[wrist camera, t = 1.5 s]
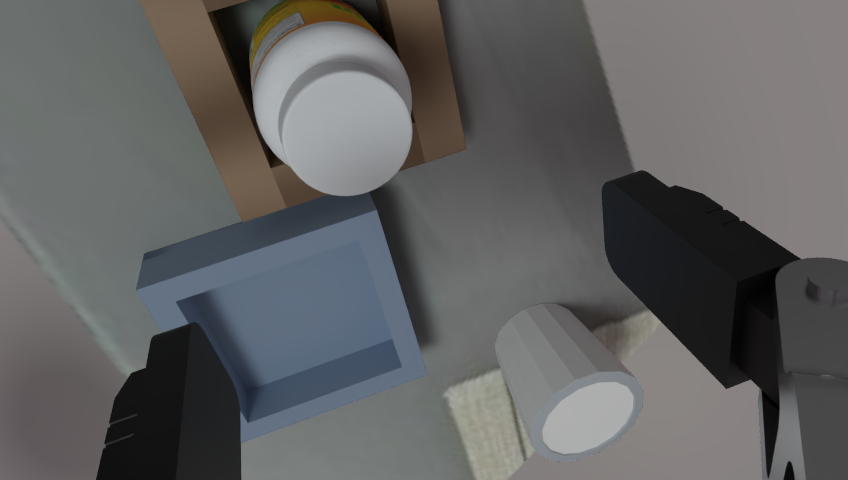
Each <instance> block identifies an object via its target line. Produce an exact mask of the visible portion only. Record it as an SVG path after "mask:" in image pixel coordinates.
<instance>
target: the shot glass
mask: <svg viewBox="0 0 848 480" xmlns="http://www.w3.org/2000/svg"><path fill="white" fill-rule="evenodd" d="M495 351H496V358H497V360H498V363H499V365H500V368H501V370H502V373H503V375H504V378H505V380H506V383H507V385H508V388H509V390H510V393H511V395H512V398H513V400H514V403H515V405H516V408H517V410H518V413H519V415H520V418H521V420H522V423H523V425H524V428H525V430H526V433H527V435H528V438H529V440H530V443H531V445H532V447H533V448H534V449H535V450H536V451H537V452H538V453H539V454H540V456H541V457H544V458H547V459H551V460H554V461H557V462H562V461H574V460H580V459H583V458H585V457H588V456H591V455H594V454H597V453H599V452H601V451H602V450H604V449H606V448H607V447H609V446H610V445H612V444H613V443H615V442H616V441H618V440H619V439H620V438H621V437H622V436H623V435H624V434H625V433H626V432H627V431H628V430H629V429H630V428H631V427H632V426H633V425H634V423H635V421H636V419H637V417H638V415H639V414H640V412H641V410H642V408H643V395H644V390H643V389H642V387H641V385H640V384H639V382H638V380H637V379H636V378H635V377H634V376H633V374H631V372H630V371H629V370H628V369H626V367H624V365H623V364H622V363H621V362H620V361H619V360H618V359H617V358H616V357H615V356H614V355H613V354H612V353H611V352H610V351H609V350H608V349H607V348H606V347H605V346H604V345H603V344H602V343H601V342H600V341H599V340H598V339H597V338H596V337H595V336H594V335H593V334H592V333H591V332H590V331H589V330H588V329H587V328H586V327H585V326H584V325H583V324H582V323H581V322H580V321H579V320H578V319H577V318H576V317H575V316H574V315H573V314H572V313H571V312H570V310H569V309H567V308H564V307H562V306H560V305H558V304H547V303H541V304H538V305H535V306H531V307H528V308H525V309H524V310H522V311H521V312H519V313H518V314H516V315H515V316H513V317H512V318H510V319H509V320H508V322H507V323H506V324H505V325H504V327H503V328H502V329H501V330H500V332H499V334H498V337H497V340H496V343H495Z"/></svg>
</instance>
